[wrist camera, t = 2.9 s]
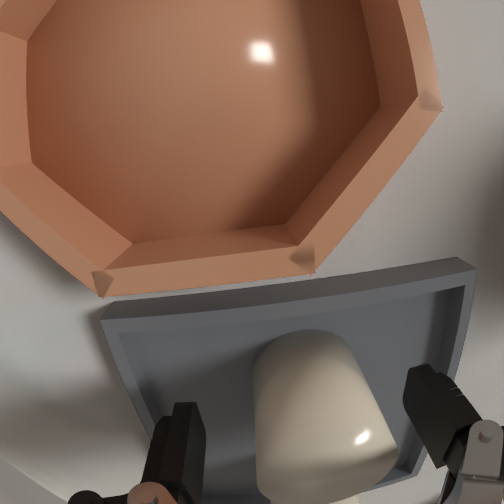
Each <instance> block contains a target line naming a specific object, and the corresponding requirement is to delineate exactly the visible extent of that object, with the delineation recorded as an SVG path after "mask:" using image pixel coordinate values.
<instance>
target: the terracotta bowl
mask: <svg viewBox="0 0 504 504" xmlns="http://www.w3.org/2000/svg"><path fill="white" fill-rule="evenodd" d="M442 109H443V106H442V104H441V97H440V90H439V84H438V78H437V72H436V67H435V62H434V57H433V52H432V47H431V43H430V39H429V35H428V31H427V27H426V23H425V19H424V15H423V12H422V8H421V5H420V2H419V0H0V211H1V212H2V213H3V214H4V215H5V216H6V217H7V218H8V219H9V220H10V221H11V222H12V223H13V224H14V225H16V226H17V227H18V228H19V229H20V230H21V231H22V232H23V233H24V234H25V235H26V236H27V237H29V238H30V239H31V240H32V241H33V242H34V243H35V244H36V245H37V246H39V247H40V248H41V249H42V250H43V251H44V252H45V253H47V254H48V255H49V256H50V257H51V258H52V259H54V260H55V261H56V262H57V263H58V264H60V265H61V266H62V267H63V268H64V269H66V270H67V271H68V272H69V273H70V274H72V275H73V276H74V277H75V278H77V279H78V280H79V281H80V282H82V283H83V284H84V285H86V286H87V287H88V288H89V289H91V290H92V291H93V292H95V293H96V294H97V295H98V297H101V298H102V299H103V298H104V297H108V296H119V295H129V294H140V293H150V292H160V291H169V290H179V289H188V288H197V287H206V286H215V285H224V284H232V283H241V282H249V281H257V280H265V279H273V278H281V277H289V276H297V275H304V274H310V275H312V274H313V273H315V270H316V269H317V268H318V267H319V266H320V264H321V263H322V262H323V261H324V260H325V258H326V257H327V256H328V255H329V254H330V253H331V251H332V250H333V249H334V248H335V247H336V246H337V244H338V243H339V242H340V241H341V240H342V238H343V237H344V236H345V235H346V234H347V232H348V231H349V230H350V229H351V227H352V226H353V225H354V224H355V223H356V221H357V220H358V219H359V218H360V216H361V215H362V214H363V213H364V212H365V210H366V209H367V208H368V207H369V205H370V204H371V203H372V202H373V200H374V199H375V198H376V197H377V195H378V194H379V193H380V192H381V190H382V189H383V188H384V186H385V185H386V184H387V183H388V181H389V180H390V179H391V177H392V176H393V175H394V174H395V172H396V171H397V170H398V168H399V167H400V166H401V164H402V163H403V162H404V160H405V159H406V158H407V157H408V155H409V154H410V153H411V151H412V150H413V149H414V147H415V146H416V145H417V143H418V142H419V140H420V139H421V138H422V136H423V135H424V134H425V132H426V131H427V130H428V128H429V127H430V125H431V124H432V123H433V121H434V120H435V118H436V117H437V116H438V114H439V113H440V112H442Z"/></svg>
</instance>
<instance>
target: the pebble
mask: <svg viewBox="0 0 504 504" xmlns="http://www.w3.org/2000/svg"><path fill="white" fill-rule="evenodd" d="M252 381H253V406H254V429H255V453H256V476H257V487H258V489H259V491H260V492H261V493H262V494H263V495H264V496H265V497H267V498H268V499H270V500H272V501H274V502H277V503H280V504H329V503H334V502H338V501H341V500H344V499H347V498H350V497H352V496H355V495H357V494H359V493H361V492H363V491H365V490H367V489H368V488H370V487H372V486H373V485H375V484H376V483H378V482H379V481H380V480H381V479H382V478H384V477H385V476H386V475H387V474H388V472H389V471H390V470H391V469H392V467H393V466H394V464H395V462H396V460H397V457H398V448H397V445H396V443H395V440H394V438H393V436H392V434H391V432H390V430H389V428H388V425H387V423H386V421H385V419H384V417H383V415H382V413H381V411H380V408H379V406H378V404H377V402H376V400H375V398H374V396H373V394H372V392H371V390H370V388H369V386H368V384H367V381H366V379H365V377H364V375H363V373H362V371H361V369H360V367H359V365H358V363H357V361H356V359H355V357H354V355H353V353H352V351H351V349H350V348H349V346H348V344H347V343H346V342H345V341H344V340H343V339H342V338H340V337H339V336H337V335H336V334H334V333H331V332H329V331H325V330H320V329H302V330H297V331H293V332H289V333H287V334H284V335H282V336H280V337H278V338H276V339H275V340H273V341H272V342H270V343H269V344H268V345H267V346H266V347H265V348H264V349H263V350H262V351H261V352H260V353H259V355H258V356H257V358H256V360H255V363H254V366H253V371H252Z"/></svg>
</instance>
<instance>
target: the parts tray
mask: <svg viewBox="0 0 504 504" xmlns="http://www.w3.org/2000/svg"><path fill="white" fill-rule="evenodd" d="M476 275H477V269H476V268H475V267H473V266H471V265H470V264H468V263H466V262H465V261H463V260H461V259H459V258H458V257H454V258H448V259H443V260H437V261H431V262H425V263H419V264H413V265H407V266H401V267H395V268H388V269H382V270H376V271H369V272H362V273H356V274H349V275H342V276H335V277H328V278H321V279H314V280H306V281H299V282H291V283H284V284H276V285H268V286H260V287H252V288H243V289H235V290H226V291H218V292H209V293H199V294H190V295H180V296H170V297H160V298H150V299H139V300H128V301H117V302H113V304H112V305H111V306H110V307H109V309H108V310H107V311H106V312H105V314H104V315H103V316H102V318H101V319H100V322H101V325H102V328H103V331H104V334H105V337H106V339H107V342H108V345H109V347H110V350H111V353H112V355H113V358H114V360H115V363H116V365H117V368H118V370H119V373H120V375H121V378H122V380H123V382H124V385H125V387H126V389H127V392H128V394H129V396H130V398H131V401H132V403H133V405H134V407H135V409H136V411H137V413H138V416H139V418H140V420H141V422H142V424H143V426H144V428H145V430H146V432H147V434H148V436H149V438H150V440H152V436H153V432H154V428H155V425H156V424H157V423H158V421H159V420H160V419H161V418H162V416H172V412H173V407H174V404H175V402H194V401H195V402H196V403H197V406H198V409H199V412H200V415H201V418H202V421H203V424H204V427H205V431H206V453H205V464H204V477H203V489H202V502H201V504H270V499H268V498H267V497H265V496H264V495H263V494H262V493H261V492H260V491H259V489H258V487H257V476H256V453H255V429H254V406H253V381H252V371H253V366H254V363H255V360H256V358H257V356H258V355H259V353H260V352H261V351H262V350H263V349H264V348H265V347H266V346H267V345H268V344H269V343H270V342H272V341H273V340H275V339H276V338H278V337H280V336H282V335H284V334H287V333H289V332H293V331H297V330H302V329H320V330H325V331H329V332H331V333H334V334H336V335H337V336H339V337H340V338H342V339H343V340H344V341H345V342H346V343H347V344H348V346H349V348H350V349H351V351H352V353H353V355H354V357H355V359H356V361H357V363H358V365H359V367H360V369H361V371H362V373H363V375H364V377H365V379H366V381H367V384H368V386H369V388H370V390H371V392H372V394H373V396H374V398H375V400H376V402H377V404H378V406H379V408H380V411H381V413H382V415H383V417H384V419H385V421H386V423H387V425H388V428H389V430H390V432H391V434H392V436H393V438H394V440H395V443H396V445H397V448H398V457H397V460H396V462H395V464H394V466H393V467H392V469H391V470H390V471H389V472H388V474H387V475H386V476H385V477H384V478H382V479H381V480H380V481H379V482H378V483H376V484H375V485H373V486H372V487H370V488H368V489H367V490H365V491H369V490H373V489H377V488H380V487H384V486H387V485H390V484H394V483H397V482H400V481H403V480H406V479H409V478H412V477H415V476H417V475H418V473H419V471H420V469H421V466H422V464H423V462H424V460H425V458H426V455H427V453H428V451H427V450H426V448H425V446H424V444H423V442H422V440H421V438H420V437H419V435H418V433H417V431H416V429H415V427H414V426H413V424H412V422H411V420H410V418H409V416H408V415H407V413H406V411H405V409H404V406H403V392H404V388H405V383H406V378H407V373H408V370H409V368H411V367H415V366H418V365H422V364H425V363H428V364H430V366H431V367H432V368H433V369H434V371H435V372H436V373H438V372H442V373H443V374H445V375H447V376H448V377H450V378H451V379H452V380H453V382H454V379H455V376H456V372H457V369H458V365H459V361H460V357H461V354H462V350H463V345H464V341H465V337H466V332H467V328H468V323H469V318H470V313H471V307H472V302H473V296H474V289H475V282H476ZM365 491H363V492H365Z"/></svg>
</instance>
